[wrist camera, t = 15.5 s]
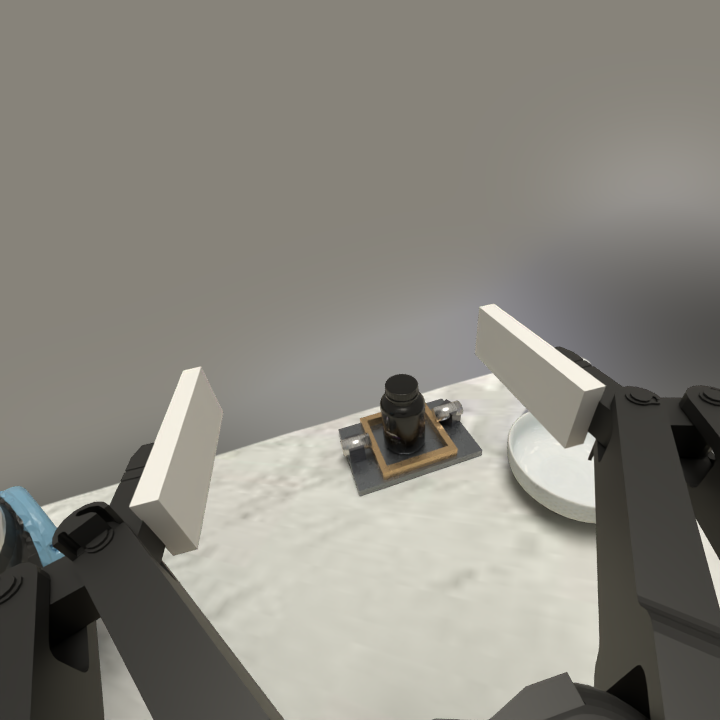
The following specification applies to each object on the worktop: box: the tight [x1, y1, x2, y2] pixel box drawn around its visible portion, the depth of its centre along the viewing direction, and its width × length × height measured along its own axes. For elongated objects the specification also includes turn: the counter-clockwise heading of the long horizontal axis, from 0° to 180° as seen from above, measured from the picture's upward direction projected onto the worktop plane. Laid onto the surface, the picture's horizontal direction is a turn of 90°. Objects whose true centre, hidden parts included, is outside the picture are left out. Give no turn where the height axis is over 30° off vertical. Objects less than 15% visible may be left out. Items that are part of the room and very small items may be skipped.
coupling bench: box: [339, 399, 482, 496], centre depth 54 cm, size 21×13×5 cm, turn 106°
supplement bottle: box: [380, 374, 425, 454], centre depth 51 cm, size 7×7×12 cm
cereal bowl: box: [507, 412, 596, 524], centre depth 45 cm, size 17×17×7 cm
